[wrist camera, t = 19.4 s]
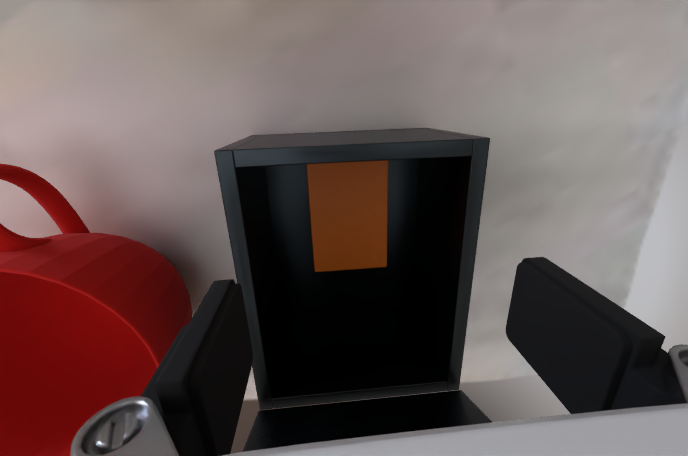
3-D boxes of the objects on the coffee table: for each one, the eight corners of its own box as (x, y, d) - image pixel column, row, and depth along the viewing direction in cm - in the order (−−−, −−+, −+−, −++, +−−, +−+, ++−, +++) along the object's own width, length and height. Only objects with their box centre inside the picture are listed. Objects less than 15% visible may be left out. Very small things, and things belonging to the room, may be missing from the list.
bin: (251, 135, 22) (213, 150, 14) (427, 127, 23) (490, 137, 15) (275, 320, 28) (259, 410, 19) (417, 309, 28) (459, 390, 20)
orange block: (306, 145, 22) (305, 152, 19) (377, 142, 22) (388, 148, 19) (314, 251, 25) (314, 272, 21) (377, 246, 25) (387, 267, 22)
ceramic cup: (183, 138, 22) (84, 160, 12) (233, 337, 28) (192, 452, 18) (-15, 156, 21) (-277, 193, 12) (80, 356, 27) (-43, 485, 18)
